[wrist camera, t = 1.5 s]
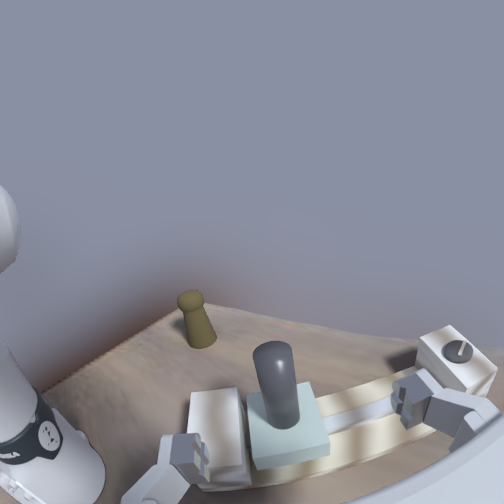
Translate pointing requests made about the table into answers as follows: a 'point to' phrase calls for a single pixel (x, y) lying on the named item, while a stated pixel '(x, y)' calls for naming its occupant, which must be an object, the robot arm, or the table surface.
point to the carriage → (283, 412)
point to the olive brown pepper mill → (196, 319)
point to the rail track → (346, 440)
